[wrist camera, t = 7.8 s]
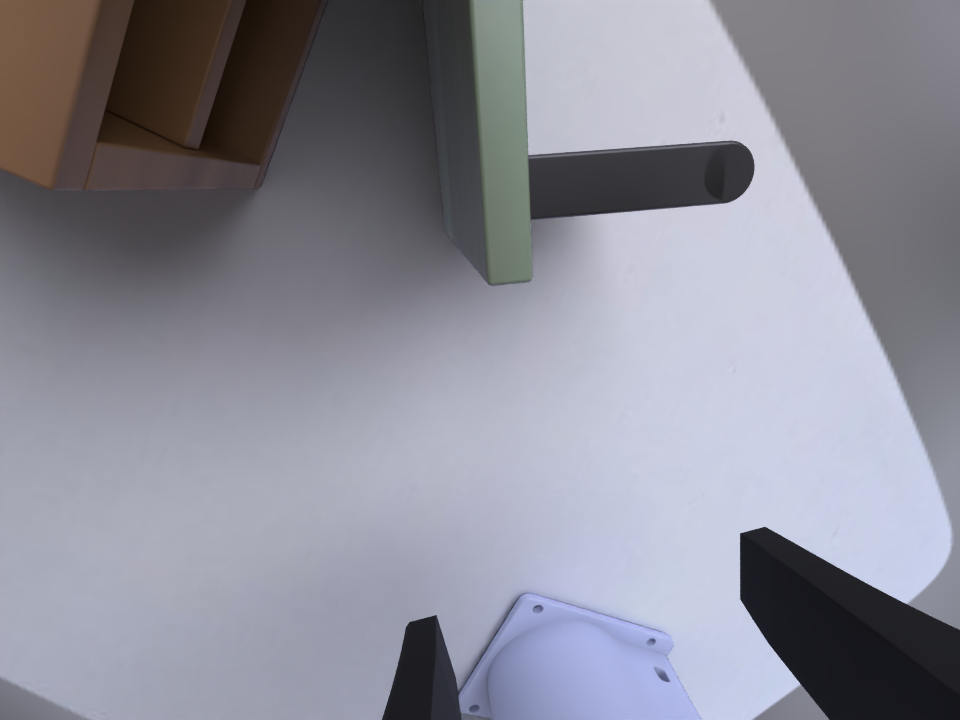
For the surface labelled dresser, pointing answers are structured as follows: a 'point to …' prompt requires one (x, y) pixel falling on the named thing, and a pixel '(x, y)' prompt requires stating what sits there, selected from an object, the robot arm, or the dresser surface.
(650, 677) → the robot arm
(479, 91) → the door
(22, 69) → the cupboard
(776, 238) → the dresser surface
